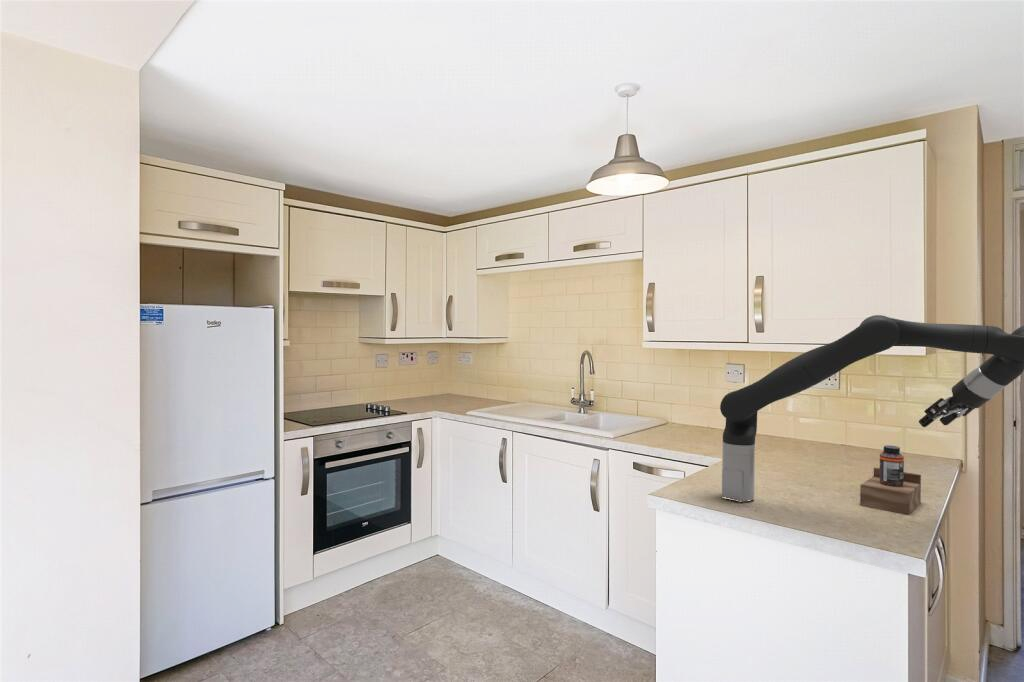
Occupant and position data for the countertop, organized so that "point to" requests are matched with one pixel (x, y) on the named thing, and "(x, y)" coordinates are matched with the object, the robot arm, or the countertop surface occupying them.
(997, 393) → the robot arm
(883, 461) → the supplement bottle
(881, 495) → the walnut shelf
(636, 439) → the countertop surface
